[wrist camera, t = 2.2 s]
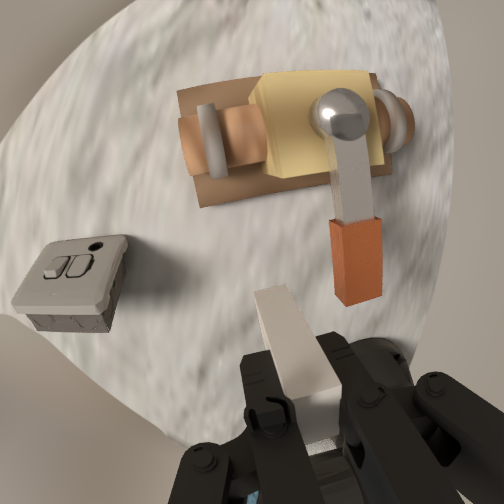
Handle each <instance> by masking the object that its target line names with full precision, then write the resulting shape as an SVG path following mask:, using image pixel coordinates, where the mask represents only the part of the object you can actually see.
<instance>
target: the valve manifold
mask: <svg viewBox="0 0 504 504" xmlns="http://www.w3.org/2000/svg"><path fill="white" fill-rule="evenodd" d="M336 88H346V89H350V90H352V91H354V92H355V93H357V94H358V95H359V96H360V97H361V98H362V99H363V100H364V102H365V103H366V105H367V107H368V110H369V115H370V122H369V126H368V129H367V131H366V132H365V136H366V143H367V150H368V157H369V165H370V174H371V177H375V176H382V175H390V174H392V166H391V157H390V153H394V152H397V151H398V150H399V149H400V148H401V147H402V146H403V145H406V144H408V143H409V142H410V141H411V139H412V137H413V135H414V130H415V122H414V116H413V113H412V110H411V108H410V106H409V105H408V103H407V102H406V101H405V100H403V99H402V98H399V97H396V96H395V95H394V94H393V93H392V92H390V91H388V90H379V85H378V81H377V76H376V73H369V72H368V71H359V70H306V71H288V72H275V73H265V74H263V75H262V76H258V77H249V78H242V79H235V80H229V81H223V82H217V83H211V84H206V85H201V86H196V87H191V88H187V89H183V90H178V91H177V96H178V102H179V107H180V113H181V118H179V119H178V125H179V133H180V139H181V145H182V150H183V154H184V158H185V162H186V166H187V169H188V172H189V175H190V176H193V178H194V183H195V188H196V192H197V197H198V201H199V206H200V208H203V207H208V206H212V205H217V204H221V203H226V202H231V201H235V200H240V199H245V198H250V197H255V196H260V195H265V194H270V193H276V192H281V191H287V190H292V189H298V188H303V187H309V186H315V185H321V184H327V183H331V179H330V172H329V165H328V158H327V152H326V145H325V140H323V139H322V138H320V137H319V136H318V135H317V134H316V133H315V132H314V131H313V129H312V127H311V125H310V122H309V108H310V106H311V104H312V102H313V101H314V100H315V99H316V98H317V97H319V96H321V95H323V94H325V93H327V92H329V91H331V90H333V89H336Z"/></svg>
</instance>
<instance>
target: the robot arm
mask: <svg viewBox="0 0 504 504" xmlns="http://www.w3.org/2000/svg"><path fill="white" fill-rule="evenodd" d="M253 293H254V298H255V303H256V308H257V313H258V318H259V322H260V327H261V332H262V337H263V341H264V344H265V348H266V350H265V351H261V352H257V353H252V354H248V355H244V356H243V358H242V361H241V363H240V370H241V376H242V382H243V388H244V394H245V400H246V408H245V409H244V420H245V422H246V425H247V427H246V429H245V430H244V432H243V433H242V434H241V435H239V436H238V437H237V438H235V439H233V440H231V441H229V442H227V443H225V444H222V445H218V444H215V443H210V442H205V443H199V444H196V445H194V446H191V447H190V448H189V449H188V450H187V451H185V453H184V455H183V457H182V458H181V462H180V465H179V468H178V471H177V475H176V478H175V481H174V485H173V488H172V492H171V495H170V498H169V502H168V504H465V503H464V501H463V500H462V498H461V497H460V495H459V493H458V491H459V492H460V493H461V494H462V495H464V496H465V497H466V498H467V499H468V500H469V501H471V502H472V503H473V504H504V413H503V412H502V411H500V410H498V409H497V408H496V407H494V406H493V405H491V404H490V403H488V402H487V401H485V400H484V399H483V398H481V397H479V396H478V395H477V394H475V393H474V392H472V391H471V390H469V389H468V388H466V387H465V386H464V385H462V384H461V383H459V382H458V381H456V380H455V379H453V378H452V377H450V376H448V375H447V374H445V373H442V372H430V373H427V374H425V375H423V376H421V378H420V379H419V380H418V381H417V384H416V386H414V384H413V380H412V377H411V374H410V371H409V367H408V364H407V361H406V359H405V357H404V355H403V354H402V352H401V351H400V350H399V349H398V348H397V347H396V346H395V345H394V344H393V343H392V342H390V341H388V340H385V339H380V338H371V339H365V340H361V341H357V342H354V343H352V344H348V342H347V341H346V339H345V338H344V337H343V336H341V335H339V334H338V333H336V332H334V331H333V332H330V333H326V334H323V335H319V336H316V337H315V336H314V334H313V332H312V330H311V329H310V327H309V325H308V323H307V322H306V320H305V318H304V316H303V315H302V313H301V311H300V309H299V307H298V306H297V304H296V302H295V300H294V299H293V297H292V295H291V293H290V292H289V290H288V288H287V286H286V285H281V286H276V287H272V288H268V289H263V290H259V291H255V292H253ZM327 438H330V439H331V440H332V441H333V442H334V443H335V445H336V447H337V449H333V450H330V451H326V452H322V453H318V454H314V455H310V456H308V453H307V450H306V447H305V445H307V444H310V443H314V442H317V441H320V440H323V439H327Z"/></svg>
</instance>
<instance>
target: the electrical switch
mask: <svg viewBox="0 0 504 504" xmlns="http://www.w3.org/2000/svg"><path fill="white" fill-rule="evenodd" d="M127 247H128V243H127V240H126V237H125V236H123V235H115V236H105V237H95V238H86V239H77V240H68V241H59V242H52V243H49V244H48V245H46V246H45V248H44V249H43V251H42V252H41V254H40V255H39V257H38V258H37V260H36V261H35V263H34V264H33V266H32V267H31V269H30V270H29V272H28V274H27V275H26V277H25V278H24V280H23V282H22V283H21V285H20V287H19V288H18V290H17V292H16V294H15V295H14V297H13V299H12V301H11V305H12V307H13V309H14V311H15V313H18V314H26V315H27V317H28V318H29V319H30V320H31V321H32V323H33V324H34V326H35V328H36V329H37V331H49V332H81V333H109V331H110V330H111V325H112V321H113V318H114V314H115V310H116V306H117V302H118V299H119V295H120V292H121V288H122V285H123V282H124V278H125V275H126V269H125V266H124V259H123V253H124V252H126V250H127ZM115 275H116V279H117V280H116V279H115ZM113 283H114V287H113V286H112V284H113ZM47 314H48V315H47ZM54 318H55V319H54ZM55 320H56V321H55ZM106 325H107V326H106ZM107 327H108V328H107ZM95 328H96V329H95ZM108 329H109V330H108Z"/></svg>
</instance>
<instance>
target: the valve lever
mask: <svg viewBox="0 0 504 504" xmlns="http://www.w3.org/2000/svg"><path fill="white" fill-rule="evenodd" d="M309 122H310V125H311V127H312V129H313V131H314V132H315V133H316V134H317V135H318V136H319V137H320V138H322V139H323V140H325V145H326V152H327V158H328V165H329V172H330V179H331V187H332V195H333V203H334V212H335V219H333V220H329V227H330V237H331V248H332V259H333V272H334V288H335V295H336V296H337V297H338V298H339V299H340V301H341V302H342V303H343V304H344V305H345V306H346V307H348V306H351V305H354V304H358V303H361V302H364V301H367V300H370V299H374V298H377V297H380V296H382V224H381V219H380V218H378V217H375V216H374V207H373V194H372V183H371V174H370V165H369V157H368V150H367V143H366V136H365V132H366V131H367V129H368V126H369V122H370V115H369V110H368V107H367V105H366V103H365V102H364V100H363V99H362V98H361V97H360V96H359V95H358V94H357V93H355V92H354V91H352V90H350V89H346V88H336V89H333V90H331V91H329V92H327V93H325V94H323V95H321V96H319V97H317V98H316V99H315V100H314V101H313V102H312V104H311V106H310V108H309Z"/></svg>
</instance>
